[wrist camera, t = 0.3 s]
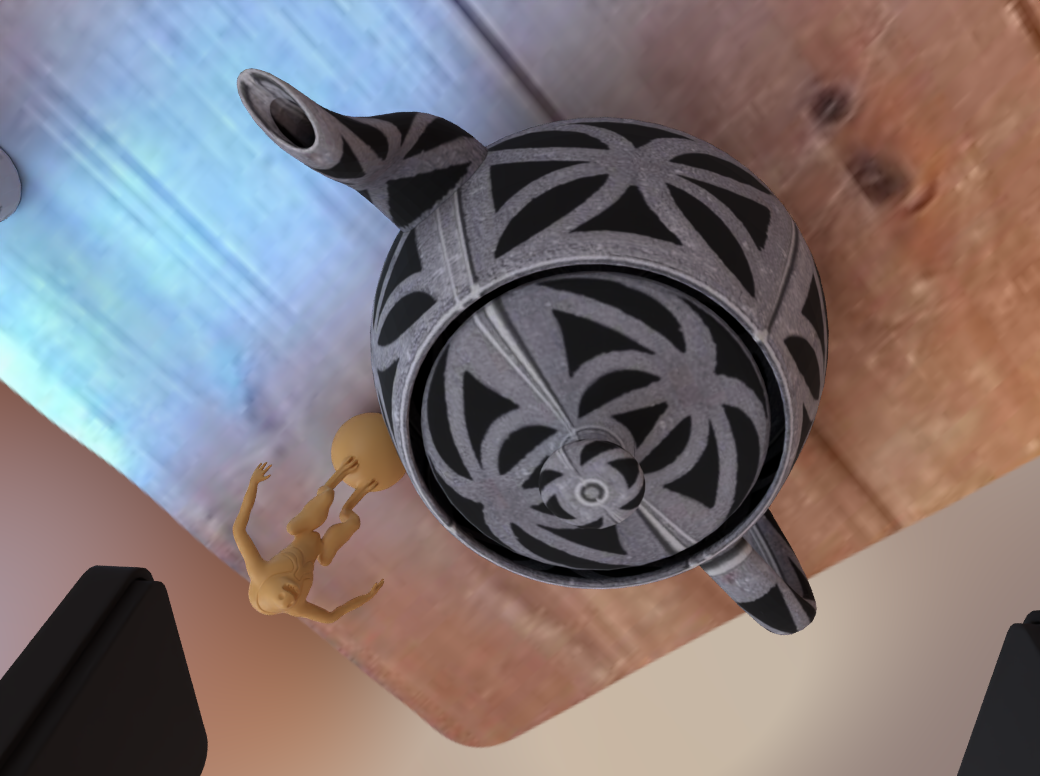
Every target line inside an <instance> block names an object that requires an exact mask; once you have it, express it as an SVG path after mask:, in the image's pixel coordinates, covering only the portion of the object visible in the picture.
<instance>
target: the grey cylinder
mask: <svg viewBox="0 0 1040 776" xmlns="http://www.w3.org/2000/svg"><path fill="white" fill-rule="evenodd" d="M20 199H21V183H20V179H19V175H18V172H17V170H16V168H15V166H14V165H13V163H12V161H11V159H10V158H9V156H8V155H7V154H6V153H5V152H4V151H3V150H2V149H1V148H0V222H1V221H3V220H5V219H7V218H8V217H9V216H10V215H11V214H12V213H14V212H15V210H16V208H17V206H18V204H19V202H20Z"/></svg>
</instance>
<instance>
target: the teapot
mask: <svg viewBox="0 0 1040 776" xmlns="http://www.w3.org/2000/svg"><path fill="white" fill-rule="evenodd" d="M237 88H238V93H239V96H240V98H241V101H242V103H243V104H244V106H245V108H246V109H247V111H248V112H249V113H250V115H251V116H252V118H253V119H254V121H255V122H256V124H257V125H258V126H259V127H260V128H261V129H262V130H263V131H264V132H265V133H266V135H267V136H268V137H269V138H270V139H271V140H272V141H273V142H274V143H276V144H277V145H278V146H279V147H280V148H282V149H283V150H284V151H286V152H287V153H289V154H290V155H291V156H293V157H294V158H296V159H298V160H299V161H301V162H302V163H304V164H305V165H307V166H308V167H310V168H311V169H313V170H315V171H317V172H319V173H321V174H323V175H325V176H326V177H328V178H330V179H333V180H335V181H338V182H340V183H343V184H345V185H347V186H349V187H351V188H353V189H355V190H356V191H358V192H359V193H360V194H361V195H363V196H364V197H365V198H366V199H367V200H369V201H370V202H371V203H372V204H374V205H375V206H376V207H377V208H378V209H379V210H380V211H381V212H382V213H383V214H384V215H385V216H386V217H388V218H389V219H390V220H391V221H392V222H393V223H394V224H395V225H396V226H397V227H398V228H399V229H400V231H399V233H398V235H397V237H396V239H395V240H394V243H393V245H392V247H391V249H390V251H389V253H388V256H387V258H386V260H385V262H384V265H383V268H382V271H381V274H380V277H379V281H378V285H377V290H376V294H375V299H374V305H373V310H372V320H371V332H370V334H371V362H372V370H373V377H374V383H375V388H376V392H377V396H378V400H379V404H380V408H381V412H382V416H383V419H384V422H385V424H386V427H387V429H388V432H389V435H390V437H391V439H392V442H393V444H394V447H395V449H396V451H397V454H398V456H399V458H400V460H401V462H402V464H403V466H404V468H405V470H406V472H407V474H408V475H409V477H410V479H411V481H412V483H413V485H414V487H415V489H416V491H417V492H418V494H419V496H420V497H421V499H422V500H423V502H424V503H425V505H426V506H427V507H428V509H429V510H430V511H431V512H432V514H433V515H434V516H435V517H436V519H437V520H438V521H439V522H440V523H441V524H442V525H443V526H444V527H445V528H446V529H447V530H448V531H449V532H450V533H451V534H452V535H453V536H455V537H456V538H457V539H458V540H459V541H461V542H462V543H463V544H464V545H465V546H467V547H468V548H470V549H471V550H473V551H474V552H475V553H477V554H478V555H480V556H481V557H483V558H485V559H487V560H488V561H490V562H492V563H494V564H496V565H497V566H500V567H502V568H504V569H506V570H508V571H511V572H513V573H515V574H518V575H521V576H524V577H527V578H529V579H533V580H537V581H540V582H544V583H548V584H553V585H559V586H564V587H572V588H582V589H613V588H625V587H632V586H639V585H643V584H648V583H652V582H657V581H660V580H663V579H666V578H670V577H673V576H676V575H678V574H681V573H683V572H686V571H688V570H690V569H693V568H695V567H697V566H700V567H701V568H702V569H703V570H704V571H705V572H706V573H707V574H708V575H709V576H710V577H711V578H712V579H713V580H714V581H715V582H716V583H717V584H718V585H719V586H720V587H721V588H722V589H723V590H724V591H725V592H726V593H727V594H728V595H729V596H730V597H731V598H732V599H733V600H734V601H735V602H736V603H737V604H738V605H739V606H740V607H741V608H742V609H743V610H744V611H745V612H746V613H748V614H749V615H750V616H751V617H752V618H753V619H754V620H755V621H756V622H757V623H759V624H760V625H761V626H763V627H764V628H765V629H767V630H768V631H770V632H772V633H776V634H780V635H789V634H793V633H796V632H798V631H800V630H803V629H804V628H805V627H806V626H808V625H809V624H810V623H811V622H812V621H813V619H814V617H815V615H816V602H815V599H814V596H813V593H812V590H811V587H810V585H809V582H808V580H807V578H806V575H805V573H804V571H803V569H802V567H801V565H800V563H799V561H798V559H797V557H796V555H795V553H794V551H793V549H792V548H791V546H790V544H789V542H788V541H787V539H786V537H785V536H784V534H783V532H782V531H781V529H780V527H779V526H778V524H777V522H776V520H775V519H774V517H773V515H772V514H771V512H770V510H769V509H768V508H769V506H770V505H771V503H772V502H773V500H774V499H775V497H776V496H777V494H778V492H779V491H780V489H781V487H782V486H783V484H784V482H785V481H786V479H787V477H788V476H789V474H790V472H791V470H792V468H793V466H794V464H795V462H796V460H797V458H798V456H799V454H800V452H801V450H802V448H803V446H804V444H805V442H806V440H807V438H808V435H809V433H810V430H811V427H812V425H813V422H814V420H815V416H816V413H817V409H818V406H819V402H820V398H821V394H822V391H823V387H824V382H825V375H826V368H827V360H828V337H829V330H828V320H827V310H826V302H825V297H824V292H823V288H822V284H821V279H820V276H819V273H818V270H817V267H816V264H815V262H814V259H813V256H812V254H811V252H810V250H809V248H808V246H807V244H806V242H805V240H804V238H803V236H802V234H801V232H800V230H799V228H798V226H797V225H796V223H795V222H794V220H793V219H792V217H791V216H790V214H789V213H788V211H787V210H786V208H785V207H784V205H783V204H782V203H781V202H780V201H779V199H778V198H777V197H776V196H775V195H774V194H773V193H772V191H771V190H770V189H769V188H768V187H767V186H766V185H765V184H764V183H763V182H762V181H761V180H760V179H759V178H758V177H757V176H756V175H754V174H753V173H752V172H751V171H750V170H749V169H748V168H747V167H745V166H744V165H742V164H741V163H740V162H738V161H737V160H735V159H734V158H733V157H731V156H730V155H729V154H727V153H725V152H724V151H722V150H720V149H718V148H716V147H715V146H713V145H711V144H709V143H708V142H706V141H704V140H701V139H699V138H697V137H694V136H692V135H690V134H687V133H685V132H682V131H679V130H676V129H673V128H669V127H666V126H663V125H659V124H655V123H650V122H644V121H639V120H634V119H623V118H610V117H598V118H578V119H570V120H563V121H556V122H552V123H548V124H544V125H539V126H535V127H531V128H528V129H526V130H523V131H520V132H517V133H515V134H512V135H509V136H507V137H505V138H503V139H501V140H498V141H496V142H494V143H492V144H490V145H488V146H486V147H485V146H483V145H482V144H481V143H480V142H479V141H478V140H476V139H475V138H474V137H473V136H472V135H470V134H469V133H467V132H466V131H465V130H463V129H462V128H460V127H459V126H457V125H455V124H453V123H451V122H449V121H447V120H445V119H443V118H440V117H437V116H434V115H431V114H427V113H421V112H396V113H390V114H384V115H377V116H371V117H351V116H345V115H341V114H338V113H335V112H332V111H330V110H328V109H326V108H324V107H322V106H320V105H318V104H317V103H315V102H314V101H313V100H311V99H310V98H308V97H307V96H305V95H304V94H303V93H301V92H300V91H298V90H297V89H295V88H294V87H293V86H291V85H290V84H288V83H286V82H284V81H283V80H281V79H279V78H277V77H275V76H274V75H272V74H270V73H268V72H265V71H262V70H258V69H246V70H244V71H243V72H241V73H240V75H239V76H238V78H237Z"/></svg>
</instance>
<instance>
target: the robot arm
mask: <svg viewBox="0 0 1040 776" xmlns="http://www.w3.org/2000/svg"><path fill="white" fill-rule="evenodd" d="M207 743H208V742H207V735H206V732H205V728H204V725H203V721H202V717H201V714H200V710H199V706H198V703H197V699H196V696H195V692H194V688H193V684H192V681H191V678H190V674H189V670H188V666H187V663H186V659H185V655H184V652H183V648H182V644H181V641H180V637H179V634H178V630H177V626H176V623H175V619H174V615H173V612H172V608H171V604H170V601H169V597H168V594H167V590H166V588H165V585H164V584H163V583H162V582H159V581H154V579H153V577H152V575H151V573H150V572H149V571H148V570H147V569H146V568H139V567H117V566H98V565H97V566H94V567H91V568H89V569H88V570H87V571H86V572H85V573H84V574H83V575H82V576H81V578H80V579H79V580H78V581H77V583H76V584H75V585H74V587H73V588H72V589H71V590H70V592H69V593H68V594H67V595H66V597H65V598H64V599H63V601H62V602H61V603H60V605H59V606H58V607H57V608H56V610H55V611H54V612H53V614H52V615H51V616H50V617H49V618H48V620H47V621H46V622H45V624H44V625H43V626H42V627H41V629H40V630H39V631H38V633H37V634H36V635H35V636H34V638H33V639H32V640H31V642H30V643H29V644H28V645H27V647H26V648H25V649H24V651H23V652H22V653H21V654H20V656H19V657H18V658H17V659H16V661H15V662H14V663H13V665H12V666H11V667H10V668H9V670H8V671H7V672H6V673H5V675H4V676H3V677H2V679H1V680H0V776H200V775H201V773H202V770H203V768H204V765H205V761H206V757H207V746H208V744H207ZM957 776H1040V610H1037V611H1032V612H1031V613H1030V614H1028V615H1027V617H1026V619H1025V620H1024V622H1023V624H1021V623H1015V624H1013V625H1012V626H1010V628H1009V630H1008V632H1007V635H1006V638H1005V641H1004V643H1003V646H1002V649H1001V652H1000V655H999V658H998V660H997V663H996V666H995V669H994V672H993V675H992V677H991V680H990V683H989V686H988V689H987V692H986V695H985V697H984V700H983V703H982V706H981V709H980V712H979V714H978V717H977V720H976V724H975V726H974V729H973V732H972V735H971V737H970V740H969V743H968V746H967V749H966V752H965V754H964V757H963V760H962V763H961V766H960V769H959V771H958V774H957Z"/></svg>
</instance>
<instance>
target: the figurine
mask: <svg viewBox="0 0 1040 776" xmlns="http://www.w3.org/2000/svg"><path fill="white" fill-rule="evenodd" d="M331 457H332V462H333V466H334V468H335V470H336V472H335V473H334V474H333V475H332V477H331V478H330V479H329V480H328V481H327V482H326V484H325V485H324V486H321V487H320V488H319V489H318V492H317V496H316V497H314V498H313V499H312V500H310V501H309V502H308V503H307V504H306V505H305V507H304V508H303V509H302V511H301V512H300V513H299V514H298V515H297V516H295V517H294V518H293V519H292V520H291V521H290V522H289V523H288V524H287V531H288V533H289V534H291V535H294V536H295V539H294V541H293V542H292V543H291V544H290V545H289V546H288V547H287V548H285V549H283V550H282V551H281V552H280V553H278V554H277V555H275V556H274V557H273V558H271V559H270V560H269V561H265V560H263V559H262V557H261V556H260V554H259V552H258V550H257V549H256V547H255V545H254V543H253V542H252V540H251V538H250V537H249V535H248V534H247V532H246V530H245V528H246V525H247V523H248V520H249V515H250V512H251V509H252V507H253V505H254V502H255V498H256V493H257V485H258V483H259V482H261V481H264V480H266V479H268V478H269V477H270V476H271V475H268V476H265V477H264V474H265V473H266V472H267V471H268V469H269V468H270V467H271V466H272V465H269V466H268V467H267V468H266V469H265V470H263V469H264V467H265V466H266V464H267V462H265V463H264V464H263V465H262V463H260V464H259V465H258V467H257V468H256V469H255V471H254V473H253V475H252V477H251V480H250V484H249V487H248V490H247V492H246V494H245V496H244V500H243V503H242V506H241V509H240V512H239V514H238V516H237V518H236V520H235V523H234V525H233V535H234V538H235V541H236V543H237V545H238V548H239V550H240V552H241V554H242V556H243V558H244V560H245V563H246V568H247V572H248V574H249V576H250V578H251V583H250V587H249V600H250V602H251V604H252V606H253V607H254V608H255V609H256V610H257V611H258V612H260V613H262V614H265V615H274V614H278V613H288V614H290V615H292V616H295V617H306V618H309V619H311V620H314V621H318V622H321V623H333V622H335V621H336V620H338V619H339V618H340V617H342V616H343V615H344V614H346V613H348V612H350V611H352V610H354V609H356V608H358V607H360V606H361V605H363V604H364V603H365V602H367V601H369V600H370V599H372V598H373V597H374V595H375V594H376V593H377V592H378V590H379V589H380V588H381V587H382V585H383V583H384V581H383V580H384V579H382V580H381V581H380V582H379V583H378V584H377V583H375V585H374V586H373V588H372V589H371V591H370V592H369V593H368V594H366V595H362V596H358V597H356V598H354V599H352V600H350V601H348V602H346V603H345V604H343V605H342V606H339V607H337V608H336V609H335V610H333V611H332V612H328V611H327V610H325V609H323V608H321V607H319V606H316V605H314V604H312V603H309V602H307V601H306V597H307V595H308V593H309V590H310V588H311V586H312V583H313V582H312V581H313V570H314V562H315V560H316V558H317V560H318V562H319V563H320V564H321V565H322V566H328V565H329V564H330V563H331V561H332V559H333V558H334V556H335V554H336V552H337V551H338V550H339V549H340V548H341V547H342V546H343V545H344V544H345V543H346V542H347V541H348V540H349V539H350V537H351V536H352V535H353V533H354V532H355V531H357V530H358V529H359V527H360V518H359V516H358V515H356V514H355V513H354V512H353V511H352V509H353V508H354V507H355V506H356V504H357V503H358V502H359V501H360V500H361V499H362V498H363V497H364V496H365V495H366V494H367V493H369V492H376V491H381V490H384V489H387V488H389V487H391V486H393V485H394V484H395V483H397V482H398V481H399V480H400V479H401V478H402V477H403V475H404V474H405V472H406V470H405V468H404V466H403V464H402V462H401V460H400V458H399V456H398V454H397V451H396V449H395V447H394V444H393V442H392V439H391V437H390V435H389V432H388V429H387V427H386V424H385V422H384V419H383V416H382V414H380V413H364V414H360V415H357V416H355V417H353V418H351V419H349V420H348V421H347V422H345V423H344V424H343V425H342V426H341V427H340V429H339V430H338V431H337V433H336V435H335V437H334V440H333V443H332V449H331ZM261 465H262V466H261ZM260 466H261V468H260ZM259 468H260V469H259ZM342 480H343V481H344V482H345V483H346V484H348V485H349V486H351V487H353V488H355V489H356V490H355V491H354V493H353V494H352V495H351V497H350V498H349V499H348V500H347V502H346V503H345V504H344V506H343V508H342V511H341V512H340V515H339V517H340V520H341V522H342V523H339V524H335V525H332V526H331V527H330V528H329V529H328V530H327V531H326V533H325V534H324V536H323V537H322V539H321V538H320V534H319V533H318V532H314V531H313V530H315V529H316V528H318V527H319V526H321V525H322V524H323V523H324V522H325V520H326V519H327V516H328V511H329V508H330V506H331V504H332V502H333V500H334V490H333V489H334V488H335V487H336V486H337V485H338V484H339V483H340V482H341V481H342ZM376 585H377V586H376Z"/></svg>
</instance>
